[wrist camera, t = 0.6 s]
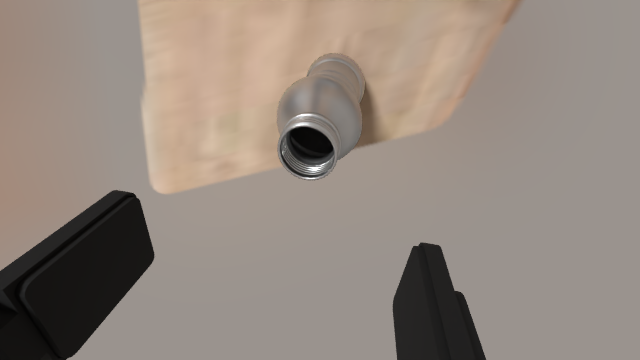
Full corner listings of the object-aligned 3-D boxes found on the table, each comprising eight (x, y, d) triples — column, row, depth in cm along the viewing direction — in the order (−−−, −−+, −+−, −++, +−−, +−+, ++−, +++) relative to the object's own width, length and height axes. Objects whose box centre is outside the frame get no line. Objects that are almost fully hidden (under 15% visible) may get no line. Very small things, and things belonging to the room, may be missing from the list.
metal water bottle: (328, 118, 36) (295, 215, 19) (298, 69, 34) (230, 132, 17) (375, 91, 34) (383, 176, 17) (346, 37, 32) (323, 72, 15)
